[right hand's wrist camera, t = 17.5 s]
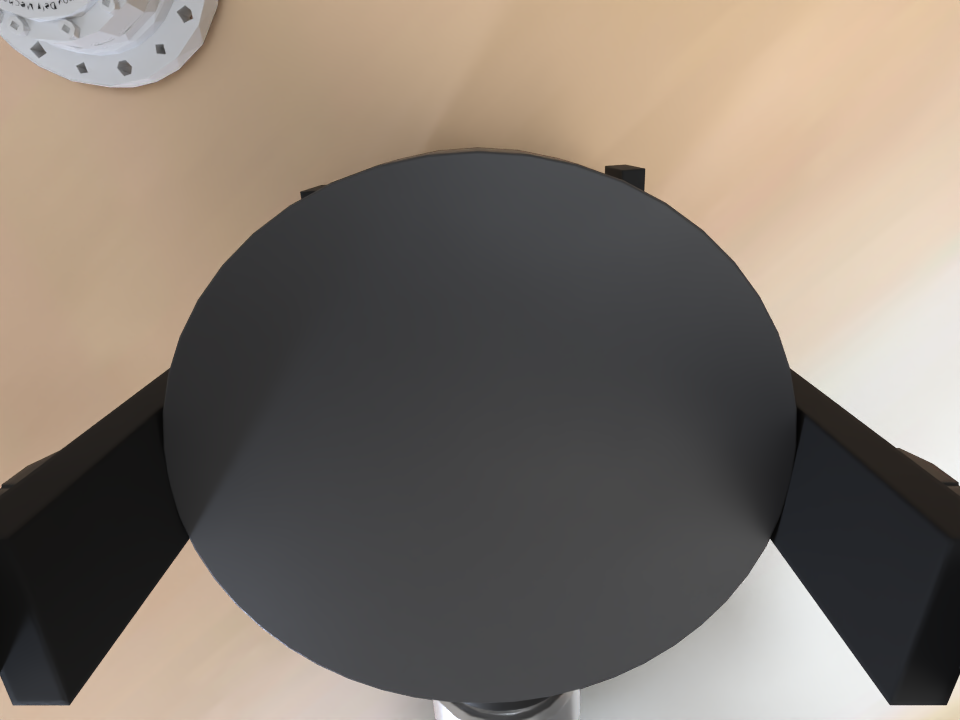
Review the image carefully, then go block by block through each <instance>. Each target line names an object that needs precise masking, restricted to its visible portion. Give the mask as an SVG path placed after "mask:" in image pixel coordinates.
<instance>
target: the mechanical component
mask: <svg viewBox="0 0 960 720" xmlns="http://www.w3.org/2000/svg"><path fill="white" fill-rule="evenodd" d="M217 6H218V0H0V36H1V37H2V38H3V39H5V40H6V41H7V42H8V43H9V44H10V45H11V46H12V47H13V48H14V49H15V50H16V51H18V52H19V53H21V54H22V55H23V56H25V57H26V58H28V59H29V60H31V61H32V62H33V63H35V64H36V65H38V66H39V67H41V68H44V69H46V70H48V71H50V72H53V73H55V74H57V75H59V76H62V77H64V78H66V79H68V80H70V81H75V82H81V83H87V84H94V85H100V86H106V87H138V86H142V85H146V84H150V83H154V82H158V81H159V80H161V79H163V78H165V77H166V76H168V75H170V74H172V73H173V72H175V71H177V70H179V69H180V68H181V67H182V66H183V65H184V64H185V63H186V62H187V60H188V59H189V58H190V57H191V56H192V55H193V54H194V53H195V52H196V51H197V50H198V49H199V48H200V47H201V46H202V45H203V43H204V40H205V38H206V35H207V33H208V30H209V27H210V25H211V22H212V20H213V17H214V14H215V12H216V9H217ZM191 15H192V17H193V19H190V17H191Z"/></svg>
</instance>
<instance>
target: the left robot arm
mask: <svg viewBox="0 0 960 720" xmlns="http://www.w3.org/2000/svg"><path fill="white" fill-rule="evenodd" d="M605 174H607V175H610V176H612V177H615V178H618V179H621V180H624V181H626V182H627V183H629V184H631V185H633V186H635V187H637V188H639V189H641V190H642V191H644V184H645V169H644V168H639V167H634V166H629V165H614V166H605ZM324 186H326V185H320V186H317V187H314V188H311V189H308V190H304V191H301V192H300V193H301V199H303V198H304V197H306V196H308V195H310V194H312V193H314V192H315V191H317V190H319V189H321V188H323V187H324ZM433 705H434V712H435V719H436V720H579V718H580V689H578V690H574V691H570V692H566V693H562V694H558V695H554V696H550V697H543V698H536V699H529V700H523V701H516V702H497V703H463V702H445V701H437V700H433Z"/></svg>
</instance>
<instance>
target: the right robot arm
mask: <svg viewBox="0 0 960 720" xmlns="http://www.w3.org/2000/svg"><path fill="white" fill-rule="evenodd" d="M169 370H170V368H169V369H168V370H167V371H165V372H164V373H163V374H161V375H160V376H159V377H157V378H156V379H155V380H153V381H152V382H151V383H149V384H148V385H147V386H145V387H144V388H143V389H141V390H140V391H139V392H137V393H136V394H135V395H133V396H132V397H131V398H129V399H128V400H127V401H125V402H124V403H123V404H121V405H120V406H119V407H117V408H116V409H115V410H113V411H112V412H111V413H109V414H108V415H107V416H105V417H104V418H103V419H101V420H100V421H99V422H97V423H96V424H95V425H94V426H92V427H91V428H90V429H88V430H87V431H86V432H84V433H83V434H82V435H80V436H79V437H78V438H76V439H75V440H74V441H72V442H71V443H70V444H68V445H67V446H66V447H64V448H63V449H62V450H60V451H58V452H56V453H54V454H52V455H50V456H47V457H45V458H43V459H41V460H39V461H37V462H35V463H33V464H31V465H29V466H27V467H25V468H24V469H23V470H21V471H20V472H18V473H17V474H16V475H14V476H13V477H12V478H10V479H9V480H8V481H6V482H5V483H3V484H2V487H1V489H0V676H1V679H2V681H3V683H4V686H5V688H6V690H7V693H8V695H9V697H10V700H11V702H12V704H13V705H70V704H71V703H72V701H73V700H74V698H75V697H76V696H77V694H78V693H79V691H80V690H81V689H82V687H83V686H84V684H85V683H86V682H87V680H88V679H89V678H90V676H91V675H92V673H93V672H94V671H95V669H96V668H97V666H98V665H99V664H100V662H101V661H102V659H103V658H104V657H105V655H106V654H107V653H108V651H109V650H110V648H111V647H112V646H113V644H114V643H115V641H116V640H117V639H118V637H119V636H120V634H121V633H122V632H123V630H124V629H125V628H126V626H127V625H128V623H129V622H130V621H131V619H132V618H133V616H134V615H135V614H136V612H137V611H138V609H139V608H140V607H141V605H142V604H143V602H144V601H145V600H146V598H147V597H148V596H149V594H150V593H151V591H152V590H153V589H154V587H155V586H156V584H157V583H158V582H159V580H160V579H161V577H162V576H163V575H164V573H165V572H166V571H167V569H168V568H169V566H170V565H171V564H172V562H173V561H174V559H175V558H176V557H177V555H178V554H179V552H180V551H181V550H182V548H183V547H184V545H185V544H186V543H187V541H188V540H189V539H190V538H189V536H188V534H187V532H186V530H185V528H184V525H183V523H182V521H181V519H180V517H179V513H178V510H177V507H176V504H175V501H174V498H173V494H172V491H171V487H170V482H169V478H168V473H167V468H166V462H165V456H164V450H163V408H164V401H165V394H166V387H167V380H168V374H169ZM790 370H791V377H792V383H793V389H794V396H795V402H796V408H797V446H796V453H795V459H794V466H793V471H792V475H791V480H790V484H789V488H788V492H787V496H786V500H785V503H784V506H783V510H782V513H781V516H780V518H779V520H778V522H777V524H776V526H775V529H774V531H773V533H772V535H771V537H770V539H771V540H772V542H773V543H774V545H775V546H776V547H777V549H778V550H779V552H780V553H781V554H782V556H783V557H784V559H785V560H786V561H787V563H788V564H789V565H790V567H791V568H792V570H793V571H794V572H795V574H796V575H797V577H798V578H799V579H800V581H801V582H802V584H803V585H804V586H805V588H806V589H807V591H808V592H809V593H810V595H811V596H812V597H813V599H814V600H815V602H816V603H817V604H818V606H819V607H820V609H821V610H822V611H823V613H824V614H825V616H826V617H827V618H828V620H829V621H830V622H831V624H832V625H833V627H834V628H835V629H836V631H837V632H838V634H839V635H840V636H841V638H842V639H843V641H844V642H845V643H846V645H847V646H848V648H849V649H850V650H851V652H852V653H853V654H854V656H855V657H856V659H857V660H858V661H859V663H860V664H861V666H862V667H863V668H864V670H865V671H866V673H867V674H868V675H869V677H870V678H871V679H872V681H873V682H874V684H875V685H876V686H877V688H878V689H879V691H880V692H881V693H882V695H883V696H884V698H885V699H886V700H887V702H888V703H889V705H947V703H948V701H949V698H950V696H951V694H952V691H953V689H954V687H955V684H956V682H957V680H958V677H959V675H960V486H959V482H957V481H956V480H954V479H953V478H952V477H950V476H949V475H948V474H946V473H945V472H943V471H942V470H941V469H939V468H938V467H937V466H935V465H934V464H932V463H930V462H928V461H926V460H924V459H922V458H919V457H917V456H915V455H913V454H911V453H909V452H907V451H905V450H902V449H900V448H895V447H894V446H893V445H891V444H890V443H889V442H887V441H886V440H885V439H883V438H882V437H881V436H879V435H878V434H877V433H875V432H874V431H873V430H871V429H870V428H869V427H867V426H866V425H865V424H863V423H862V422H861V421H859V420H858V419H857V418H855V417H854V416H853V415H851V414H850V413H849V412H847V411H846V410H845V409H843V408H842V407H841V406H839V405H838V404H837V403H835V402H834V401H833V400H831V399H830V398H829V397H827V396H826V395H825V394H824V393H822V392H821V391H820V390H818V389H817V388H816V387H814V386H813V385H812V384H810V383H809V382H808V381H806V380H805V379H804V378H802V377H801V376H800V375H798V374H797V373H796V372H794V371H793V370H792V369H790Z"/></svg>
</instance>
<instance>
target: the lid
mask: <svg viewBox="0 0 960 720" xmlns="http://www.w3.org/2000/svg"><path fill="white" fill-rule="evenodd" d="M796 446H797V408H796V402H795V396H794V389H793V383H792V377H791V370H790V367H789V364H788V361H787V358H786V355H785V352H784V349H783V346H782V343H781V340H780V337H779V333H778V331H777V329H776V327H775V325H774V323H773V321H772V319H771V318H770V316H769V314H768V312H767V310H766V308H765V306H764V304H763V302H762V300H761V298H760V296H759V295H758V293H757V292H756V291H755V289H754V288H753V287H752V285H751V284H750V282H749V281H748V280H747V278H746V277H745V276H744V274H743V273H742V271H741V270H740V269H739V267H738V266H737V265H736V263H735V262H734V261H733V260H732V259H731V258H730V257H729V256H728V255H727V254H726V253H725V252H724V251H723V250H722V249H721V248H720V247H719V246H718V245H717V244H716V243H715V242H714V241H713V240H712V239H711V238H710V237H709V236H708V235H707V234H706V233H705V232H704V231H703V230H702V229H701V228H699V227H698V226H696V225H695V224H694V223H692V222H691V221H690V220H688V219H687V218H686V217H684V216H683V215H682V214H680V213H679V212H677V211H676V210H675V209H673V208H672V207H671V206H669V205H668V204H667V203H665V202H663V201H661V200H659V199H658V198H656V197H654V196H652V195H650V194H648V193H646V192H644V191H642V190H641V189H639V188H637V187H635V186H633V185H631V184H629V183H627V182H626V181H624V180H621V179H618V178H615V177H612V176H610V175H607V174H604V173H601V172H599V171H596V170H593V169H590V168H587V167H585V166H582V165H579V164H576V163H573V162H569V161H566V160H562V159H559V158H554V157H550V156H545V155H540V154H535V153H530V152H525V151H520V150H509V149H493V148H465V149H452V150H439V151H433V152H429V153H424V154H420V155H415V156H411V157H406V158H402V159H397V160H394V161H391V162H387V163H384V164H380V165H377V166H374V167H372V168H369V169H366V170H364V171H361V172H358V173H356V174H353V175H350V176H348V177H345V178H342V179H340V180H337V181H334V182H332V183H330V184H328V185H326V186H324V187H323V188H321V189H319V190H317V191H315V192H314V193H312V194H310V195H308V196H306V197H304V198H303V199H301V200H299V201H297V202H295V203H294V204H292V205H290V206H289V207H287V208H286V209H285V210H283V211H282V212H281V213H279V214H278V215H277V216H275V217H274V218H273V219H272V220H270V221H269V222H268V223H266V224H265V225H264V226H262V227H261V228H260V229H258V230H257V231H256V232H254V233H253V234H252V235H251V236H250V237H249V238H248V239H247V240H246V241H245V242H244V243H243V244H242V246H241V247H240V248H239V249H238V250H237V251H236V252H235V253H234V254H233V255H232V256H231V257H230V258H229V259H228V260H227V261H226V262H225V263H224V264H223V265H222V267H221V268H220V269H219V271H218V272H217V274H216V275H215V276H214V278H213V279H212V281H211V282H210V284H209V285H208V286H207V288H206V289H205V291H204V292H203V293H202V295H201V296H200V298H199V299H198V301H197V303H196V305H195V307H194V309H193V311H192V313H191V315H190V317H189V319H188V321H187V323H186V325H185V327H184V329H183V331H182V333H181V335H180V338H179V341H178V344H177V348H176V351H175V354H174V357H173V361H172V364H171V367H170V370H169V374H168V380H167V387H166V394H165V401H164V408H163V450H164V456H165V462H166V468H167V473H168V478H169V482H170V487H171V491H172V494H173V498H174V501H175V504H176V507H177V510H178V513H179V517H180V519H181V521H182V523H183V525H184V528H185V530H186V532H187V534H188V536H189V538H190V540H191V542H192V544H193V546H194V548H195V550H196V552H197V553H198V555H199V556H200V558H201V559H202V561H203V562H204V564H205V565H206V567H207V568H208V570H209V571H210V573H211V574H212V576H213V578H214V579H215V580H216V581H217V582H218V584H219V585H220V586H221V587H222V588H223V589H224V591H225V592H226V593H227V594H228V595H229V596H230V598H231V599H232V600H233V601H234V602H235V604H236V605H237V606H239V607H240V608H241V609H242V610H243V611H244V612H245V613H246V614H247V615H248V616H249V617H250V618H251V619H253V620H254V621H255V622H256V623H257V624H258V625H259V626H260V627H261V628H263V629H264V630H265V631H267V632H268V633H269V634H271V635H272V636H273V637H275V638H276V639H277V640H279V641H280V642H282V643H283V644H284V645H286V646H287V647H288V648H290V649H292V650H293V651H295V652H297V653H299V654H300V655H302V656H304V657H305V658H307V659H309V660H311V661H312V662H314V663H316V664H317V665H320V666H322V667H324V668H326V669H328V670H331V671H333V672H335V673H337V674H339V675H342V676H344V677H346V678H348V679H351V680H354V681H357V682H360V683H363V684H366V685H369V686H372V687H375V688H378V689H381V690H385V691H389V692H393V693H398V694H402V695H406V696H411V697H415V698H423V699H430V700H437V701H445V702H463V703H497V702H516V701H523V700H529V699H536V698H543V697H550V696H554V695H558V694H562V693H566V692H570V691H574V690H578V689H582V688H585V687H588V686H591V685H594V684H597V683H599V682H602V681H605V680H608V679H611V678H614V677H616V676H618V675H620V674H622V673H625V672H627V671H629V670H631V669H633V668H635V667H637V666H640V665H642V664H644V663H646V662H647V661H649V660H651V659H652V658H654V657H656V656H657V655H659V654H661V653H663V652H664V651H666V650H668V649H669V648H671V647H673V646H674V645H676V644H677V643H678V642H679V641H681V640H682V639H683V638H685V637H686V636H687V635H689V634H690V633H691V632H693V631H694V630H695V629H697V628H698V627H699V626H701V625H702V624H703V623H704V622H705V621H706V620H707V619H708V618H709V617H710V616H711V615H712V614H713V613H714V612H716V611H717V610H718V609H719V608H720V607H721V606H722V605H723V604H724V603H725V602H726V601H727V600H728V599H729V597H730V596H731V595H732V594H733V593H734V591H735V590H736V589H737V588H738V586H739V585H740V584H741V583H742V582H743V580H744V579H745V578H746V577H747V576H748V574H749V573H750V571H751V569H752V568H753V566H754V565H755V563H756V562H757V560H758V558H759V557H760V555H761V554H762V552H763V551H764V549H765V547H766V546H767V544H768V542H769V539H770V537H771V535H772V533H773V531H774V529H775V526H776V524H777V522H778V520H779V518H780V516H781V513H782V510H783V506H784V503H785V500H786V496H787V492H788V488H789V484H790V480H791V475H792V471H793V466H794V459H795V453H796Z"/></svg>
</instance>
